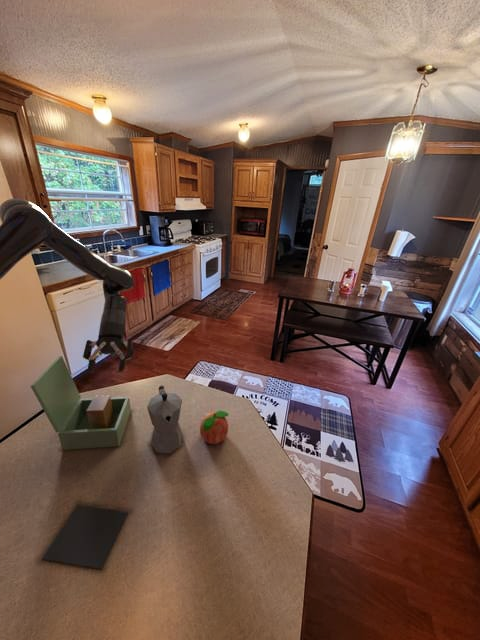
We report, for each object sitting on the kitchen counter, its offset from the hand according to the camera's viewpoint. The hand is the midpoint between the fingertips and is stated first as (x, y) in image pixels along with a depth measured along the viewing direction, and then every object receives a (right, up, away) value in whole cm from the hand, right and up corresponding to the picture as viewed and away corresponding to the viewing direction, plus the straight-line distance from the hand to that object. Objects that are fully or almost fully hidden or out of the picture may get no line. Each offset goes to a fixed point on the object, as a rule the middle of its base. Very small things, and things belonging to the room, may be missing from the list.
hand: (106, 372), depth 80 cm
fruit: (+34, -20, -1) cm, 40 cm away
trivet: (+11, -29, -27) cm, 41 cm away
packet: (0, -17, -2) cm, 17 cm away
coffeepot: (+20, -20, -3) cm, 28 cm away
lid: (-8, -4, -9) cm, 13 cm away
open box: (-1, -18, -2) cm, 18 cm away
